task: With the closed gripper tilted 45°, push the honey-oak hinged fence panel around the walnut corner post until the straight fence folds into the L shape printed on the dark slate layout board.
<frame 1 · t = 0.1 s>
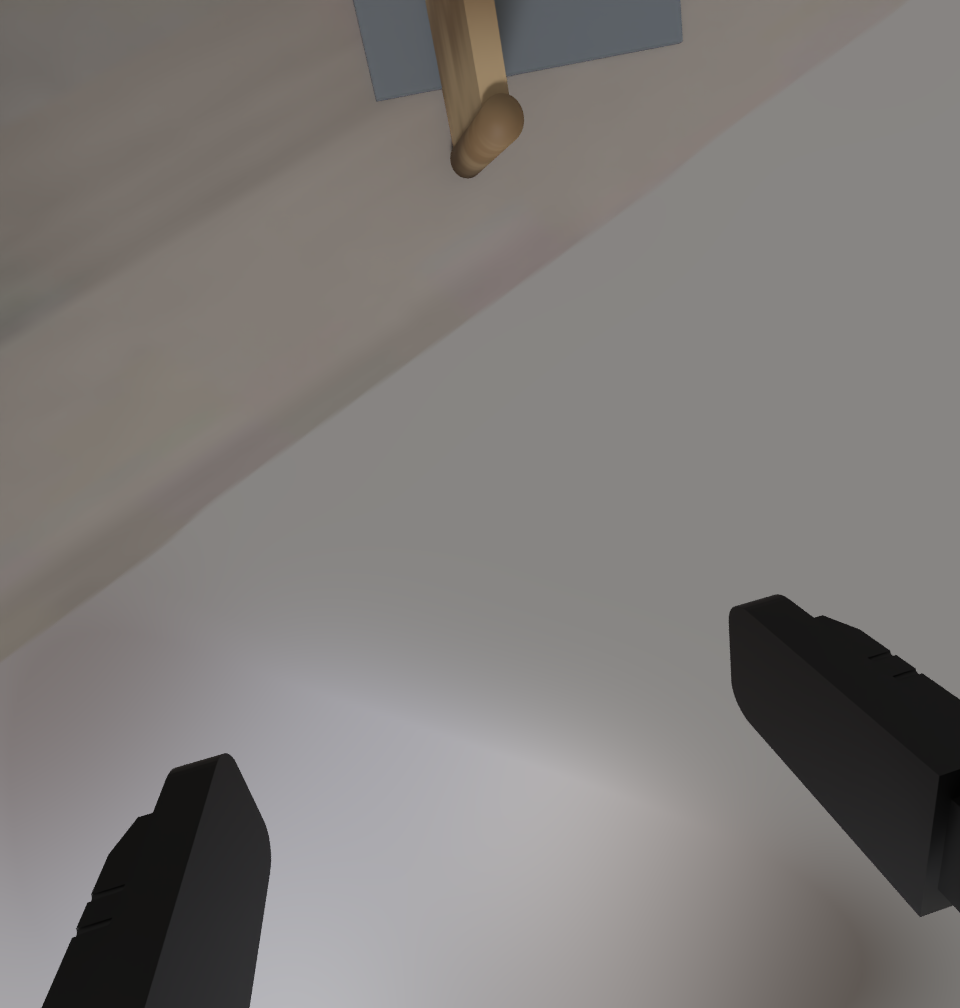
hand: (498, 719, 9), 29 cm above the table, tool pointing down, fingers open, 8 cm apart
fence gate: (460, 18, 26), point 5 cm above the table, hinge at 0.0°
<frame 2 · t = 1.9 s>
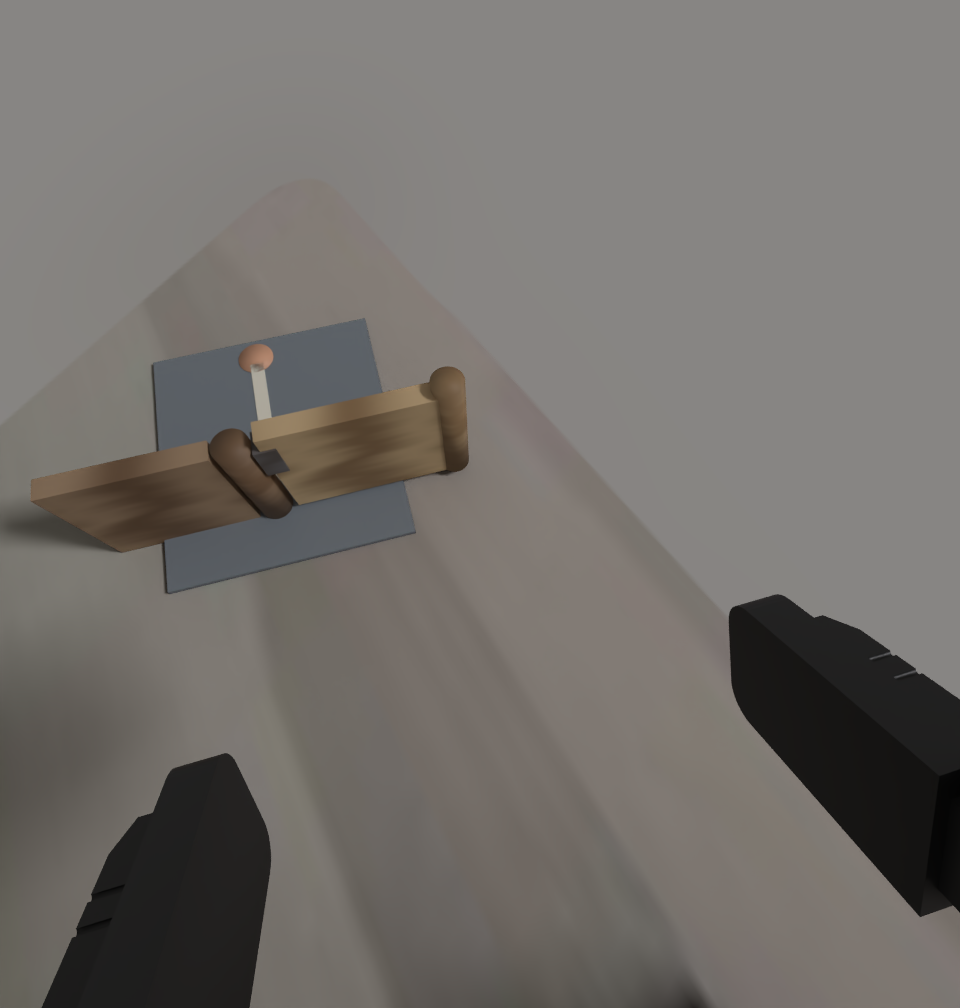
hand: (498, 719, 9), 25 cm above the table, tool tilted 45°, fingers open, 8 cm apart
fence gate: (369, 443, 34), point 5 cm above the table, hinge at 0.0°
fence fixed: (278, 506, 38), on the table
layout board: (277, 443, 39), on the table
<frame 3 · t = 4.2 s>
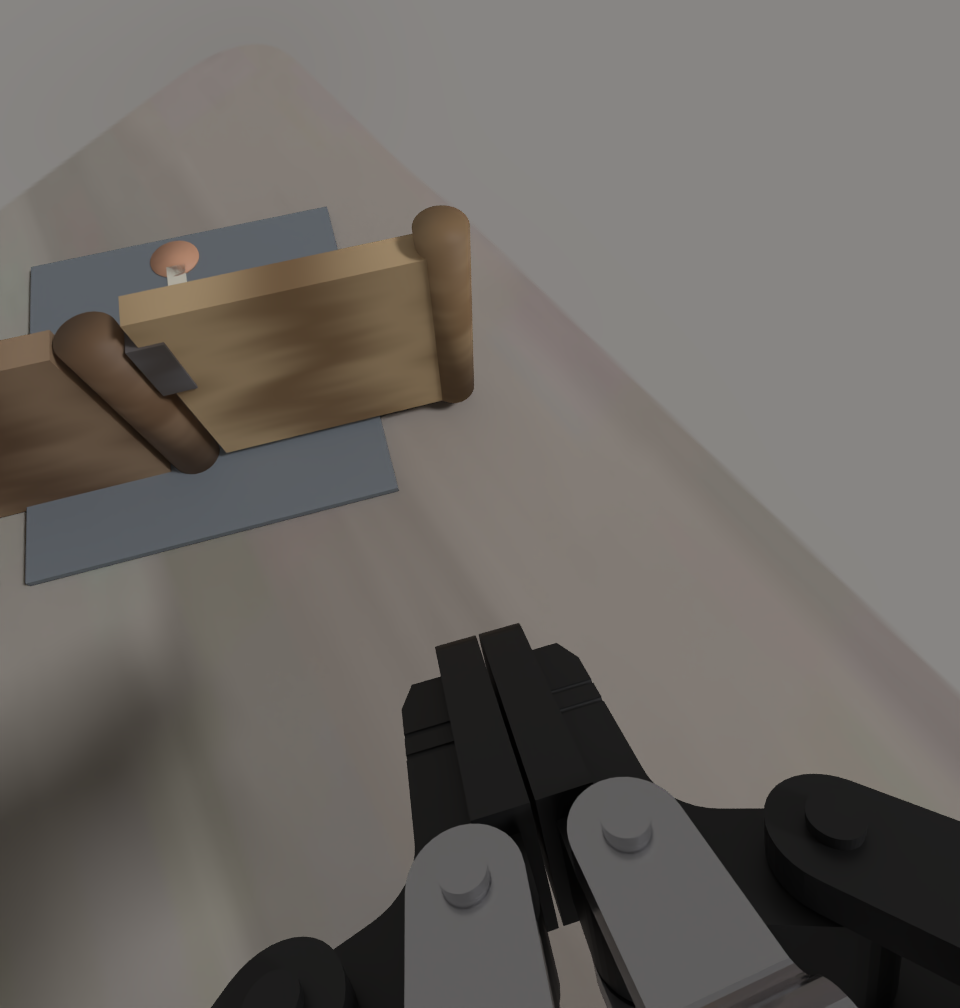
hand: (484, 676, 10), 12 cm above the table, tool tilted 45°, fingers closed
fence gate: (322, 348, 22), point 5 cm above the table, hinge at 0.0°
fence fixed: (199, 456, 26), on the table
layout board: (200, 371, 28), on the table
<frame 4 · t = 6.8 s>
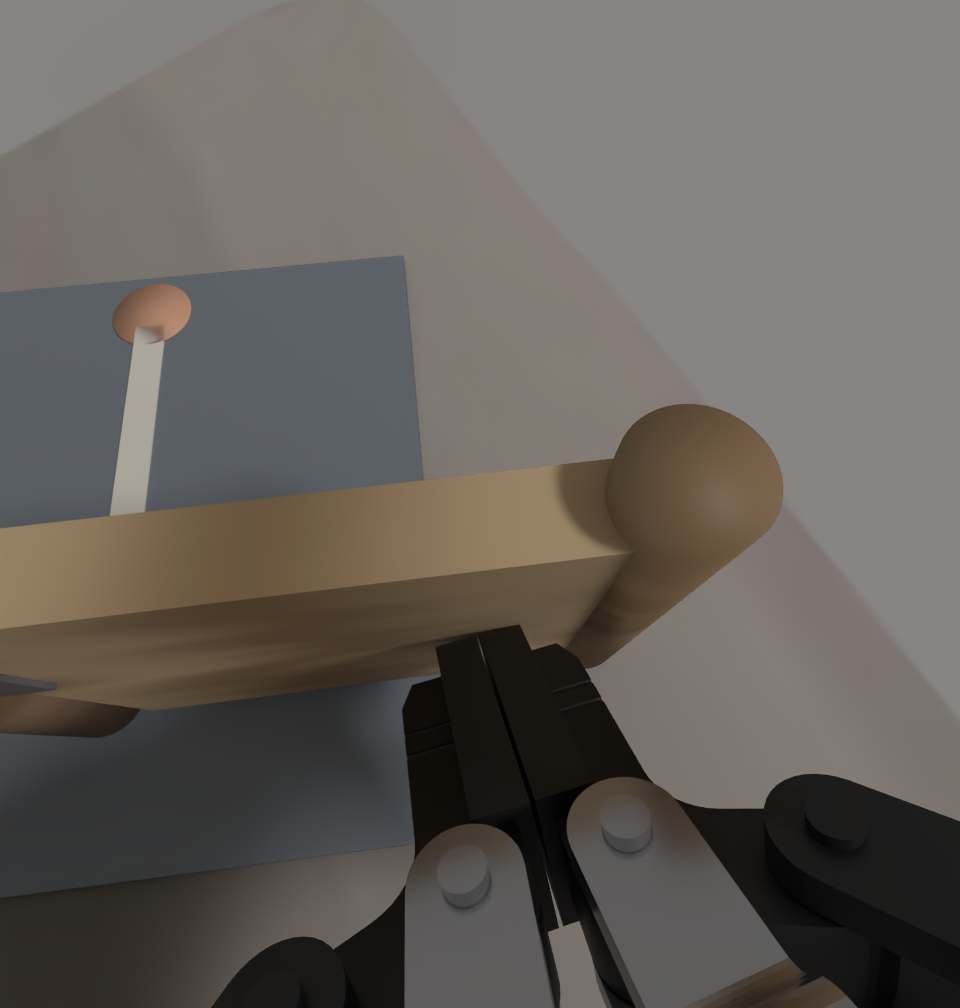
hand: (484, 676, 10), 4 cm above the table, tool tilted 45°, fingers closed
fence gate: (342, 615, 10), point 5 cm above the table, hinge at 0.4°, touching gripper
fence fixed: (112, 694, 15), on the table
layout board: (151, 521, 16), on the table
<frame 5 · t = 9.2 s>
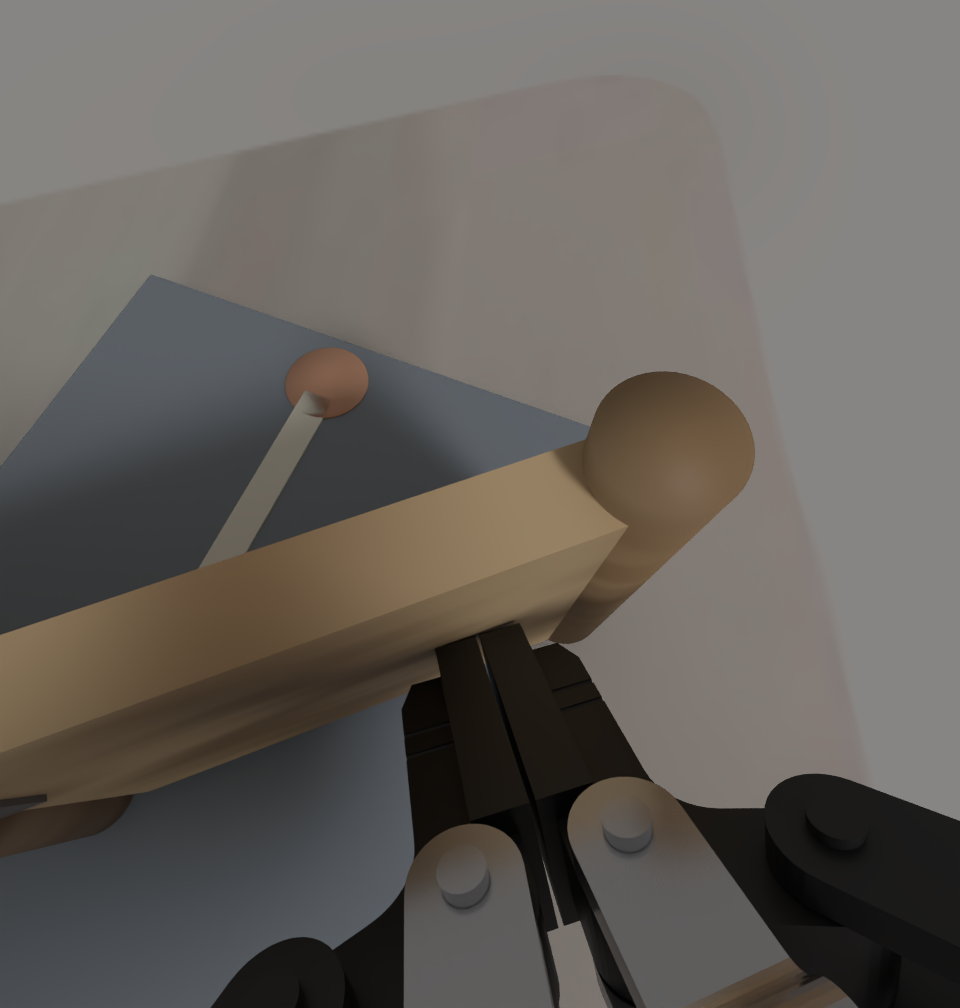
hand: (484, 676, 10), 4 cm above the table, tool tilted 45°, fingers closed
fence gate: (335, 650, 10), point 5 cm above the table, hinge at 42.3°, touching gripper
fence fixed: (98, 785, 14), on the table
layout board: (220, 612, 15), on the table
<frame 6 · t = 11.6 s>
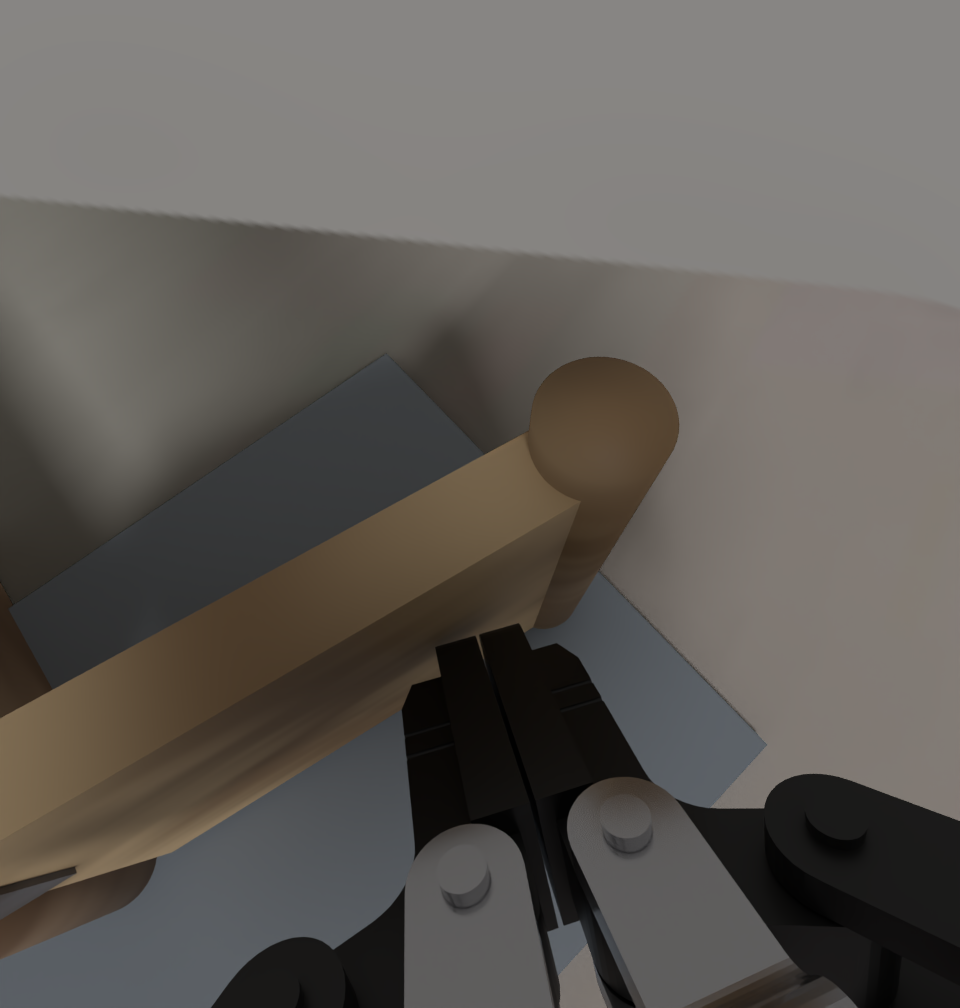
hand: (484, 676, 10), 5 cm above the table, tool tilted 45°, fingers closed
fence gate: (333, 672, 10), point 5 cm above the table, hinge at 80.6°
fence fixed: (119, 858, 14), on the table
layout board: (296, 738, 15), on the table
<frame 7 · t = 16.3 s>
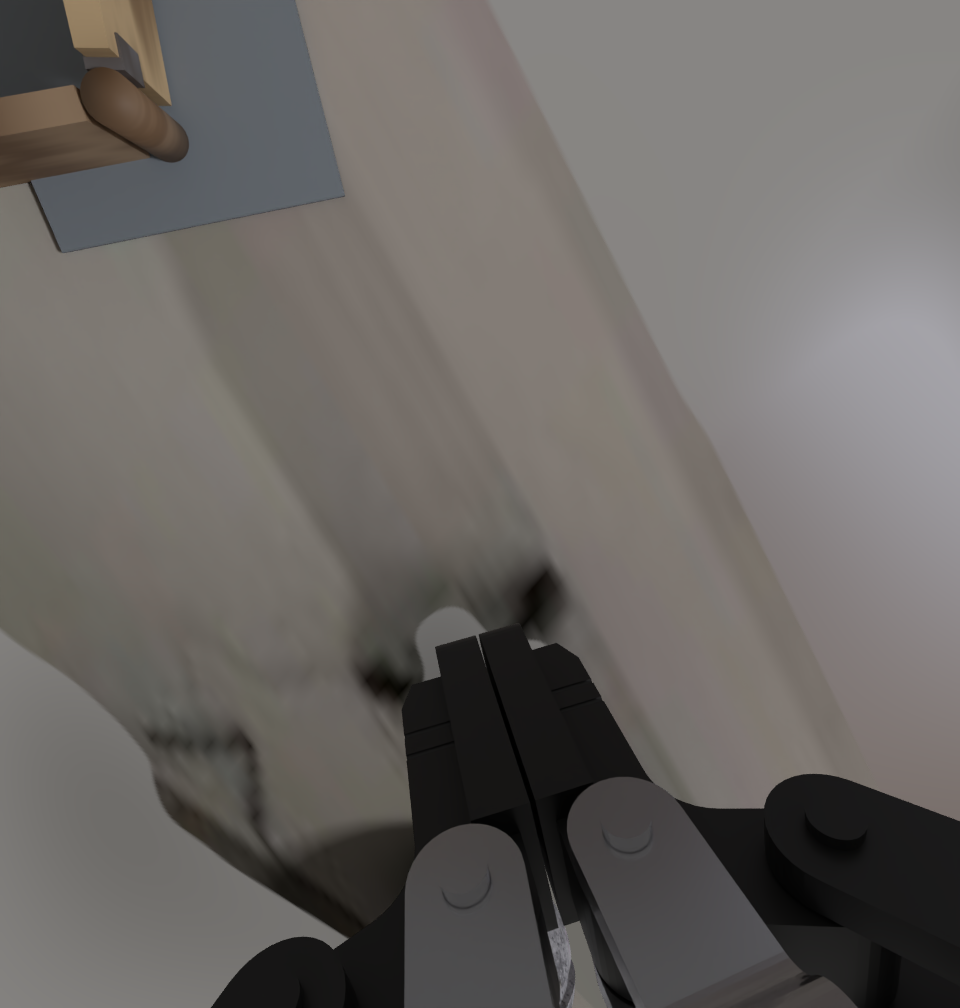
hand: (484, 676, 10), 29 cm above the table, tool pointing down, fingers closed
fence fixed: (169, 141, 31), on the table
decorative orb: (460, 872, 53), on the table
layout board: (143, 34, 29), on the table
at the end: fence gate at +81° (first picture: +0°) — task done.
